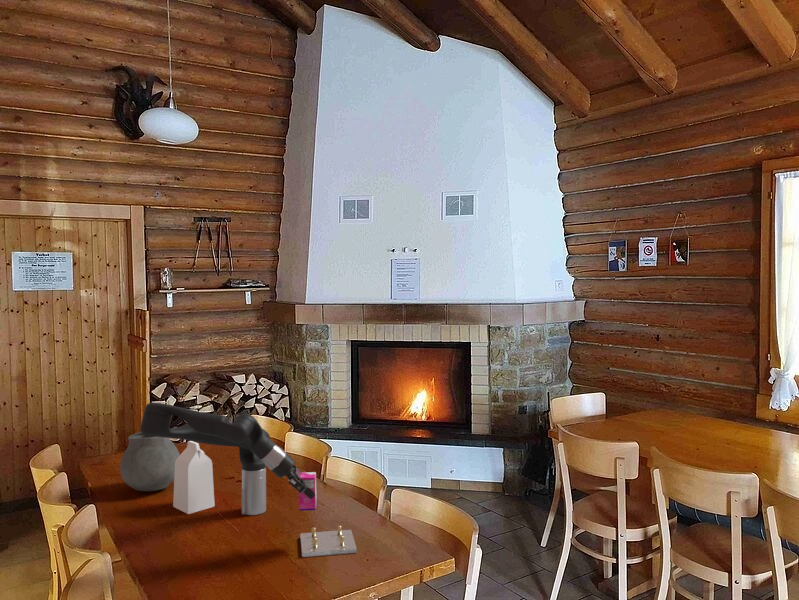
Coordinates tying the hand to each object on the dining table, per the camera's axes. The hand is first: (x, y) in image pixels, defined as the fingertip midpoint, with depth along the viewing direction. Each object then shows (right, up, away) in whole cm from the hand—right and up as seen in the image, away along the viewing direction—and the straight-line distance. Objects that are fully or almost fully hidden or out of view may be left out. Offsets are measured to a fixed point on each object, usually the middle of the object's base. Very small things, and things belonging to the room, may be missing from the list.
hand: (312, 493), depth 213 cm
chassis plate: (+5, -18, 0) cm, 19 cm away
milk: (-53, -17, +37) cm, 67 cm away
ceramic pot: (-78, -16, +57) cm, 99 cm away
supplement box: (-2, -5, 0) cm, 5 cm away
